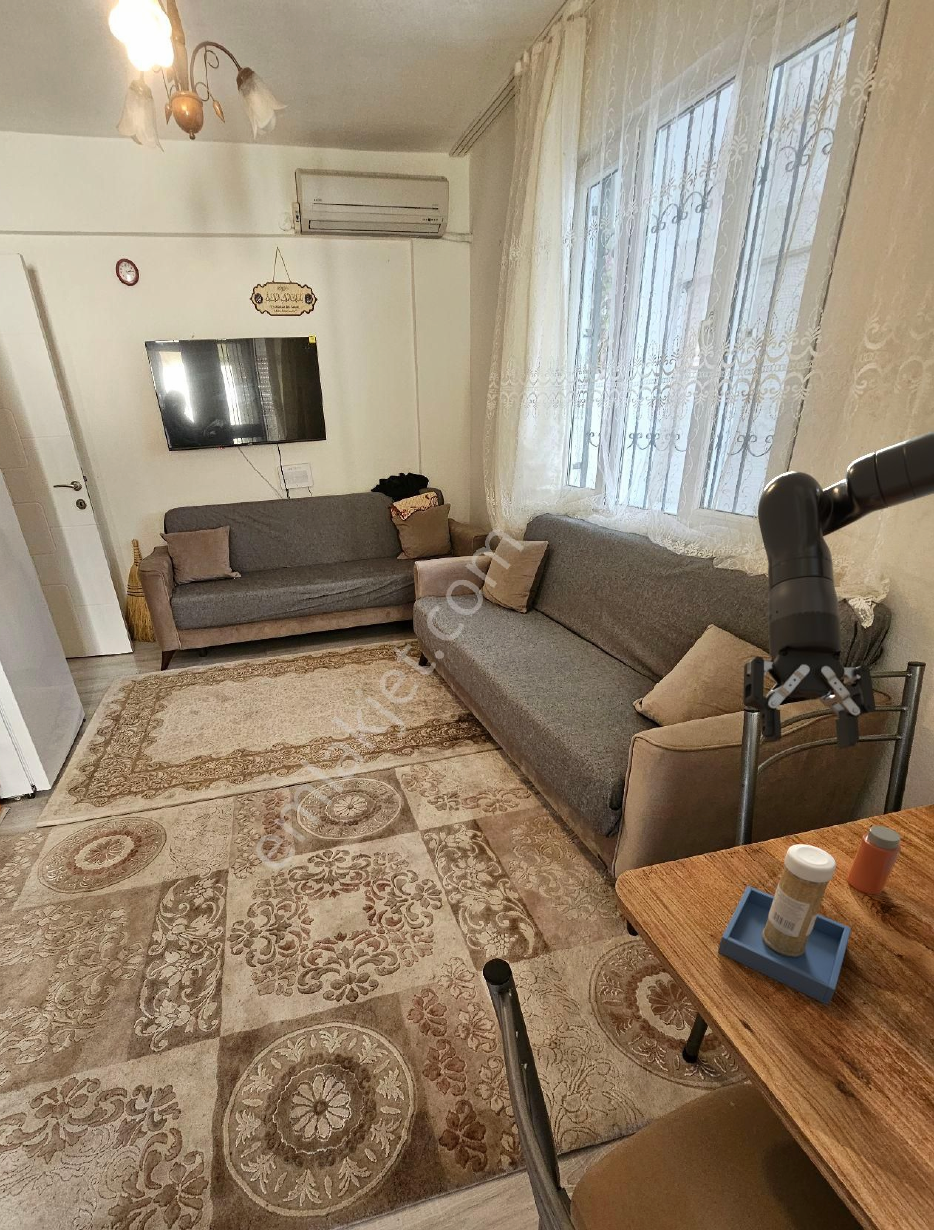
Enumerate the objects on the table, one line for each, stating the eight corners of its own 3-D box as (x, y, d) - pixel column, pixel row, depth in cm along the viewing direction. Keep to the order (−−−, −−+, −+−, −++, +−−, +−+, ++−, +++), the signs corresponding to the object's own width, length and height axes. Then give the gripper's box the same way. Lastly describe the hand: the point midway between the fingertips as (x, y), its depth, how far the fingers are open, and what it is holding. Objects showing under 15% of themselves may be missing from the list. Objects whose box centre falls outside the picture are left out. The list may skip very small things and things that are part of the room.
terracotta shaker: (884, 882, 79) (906, 831, 75) (881, 899, 76) (903, 847, 72) (849, 869, 81) (868, 820, 77) (844, 885, 79) (864, 834, 75)
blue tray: (845, 942, 70) (851, 927, 69) (828, 1006, 63) (835, 990, 62) (743, 899, 77) (747, 885, 76) (717, 952, 70) (721, 936, 69)
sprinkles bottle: (814, 954, 68) (848, 865, 62) (781, 962, 67) (812, 873, 62) (783, 925, 72) (812, 839, 66) (751, 932, 71) (778, 846, 66)
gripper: (760, 604, 71) (766, 732, 67) (883, 613, 70) (895, 744, 66) (730, 627, 79) (734, 744, 75) (841, 636, 77) (850, 755, 74)
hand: (810, 744), depth 70 cm, fingers open, 8 cm apart
